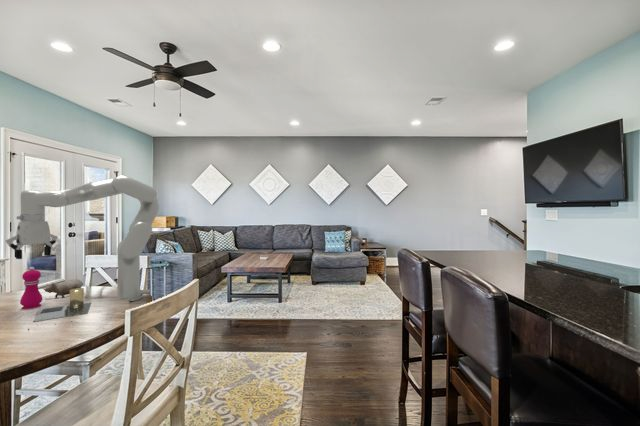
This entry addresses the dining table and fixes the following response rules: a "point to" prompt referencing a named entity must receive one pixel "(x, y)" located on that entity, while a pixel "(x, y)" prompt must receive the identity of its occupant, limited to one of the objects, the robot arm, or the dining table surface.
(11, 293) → the dining table surface
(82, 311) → the plate
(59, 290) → the rhinoceros figurine
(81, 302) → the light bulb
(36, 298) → the pepper mill
